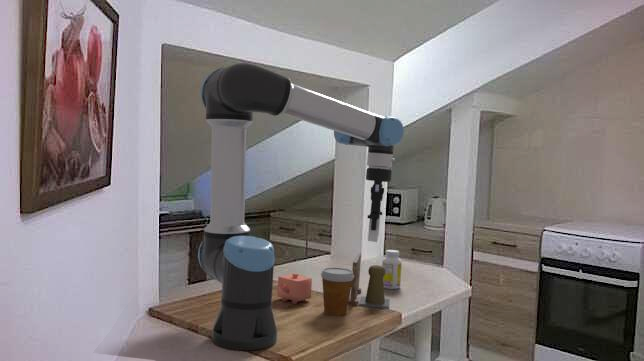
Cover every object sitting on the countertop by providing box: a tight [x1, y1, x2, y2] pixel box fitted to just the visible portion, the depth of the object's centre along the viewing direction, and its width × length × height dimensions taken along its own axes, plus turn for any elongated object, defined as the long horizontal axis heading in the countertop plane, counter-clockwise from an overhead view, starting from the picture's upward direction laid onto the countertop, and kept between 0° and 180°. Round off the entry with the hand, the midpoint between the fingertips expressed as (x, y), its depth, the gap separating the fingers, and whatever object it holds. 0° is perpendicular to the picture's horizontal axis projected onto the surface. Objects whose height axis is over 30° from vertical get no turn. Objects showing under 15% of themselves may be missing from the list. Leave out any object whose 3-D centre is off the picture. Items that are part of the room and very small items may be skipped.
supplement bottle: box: [381, 249, 403, 290], centre depth 184 cm, size 7×7×13 cm
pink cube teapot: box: [276, 272, 313, 305], centre depth 159 cm, size 8×12×8 cm, turn 143°
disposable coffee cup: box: [320, 267, 354, 317], centre depth 149 cm, size 10×10×12 cm
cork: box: [365, 264, 386, 304], centre depth 162 cm, size 6×6×11 cm
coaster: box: [358, 295, 390, 309], centre depth 162 cm, size 9×9×1 cm
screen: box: [348, 252, 362, 307], centre depth 166 cm, size 3×18×13 cm, turn 172°
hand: (373, 238), depth 158 cm, fingers open, 13 cm apart
